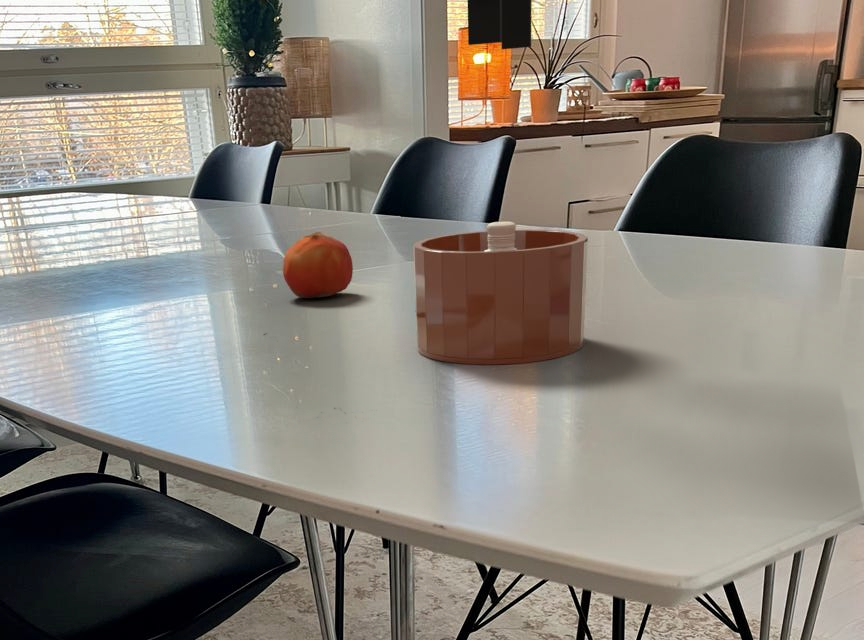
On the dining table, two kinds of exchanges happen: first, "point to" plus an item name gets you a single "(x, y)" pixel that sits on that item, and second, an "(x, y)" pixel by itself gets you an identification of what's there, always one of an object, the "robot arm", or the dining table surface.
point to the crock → (500, 297)
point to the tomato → (317, 266)
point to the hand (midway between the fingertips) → (501, 46)
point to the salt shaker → (501, 236)
